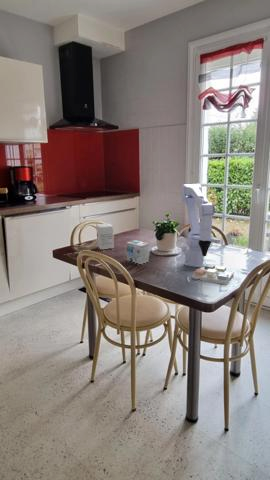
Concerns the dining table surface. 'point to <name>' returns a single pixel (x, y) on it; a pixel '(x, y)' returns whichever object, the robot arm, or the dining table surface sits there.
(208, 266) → the grey key
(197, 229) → the robot arm
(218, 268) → the sage key
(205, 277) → the light grey tray
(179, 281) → the dining table surface
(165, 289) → the dining table surface
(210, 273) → the cream key
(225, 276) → the slate blue key
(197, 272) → the terracotta key
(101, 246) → the supplement box
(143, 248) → the light bulb box
